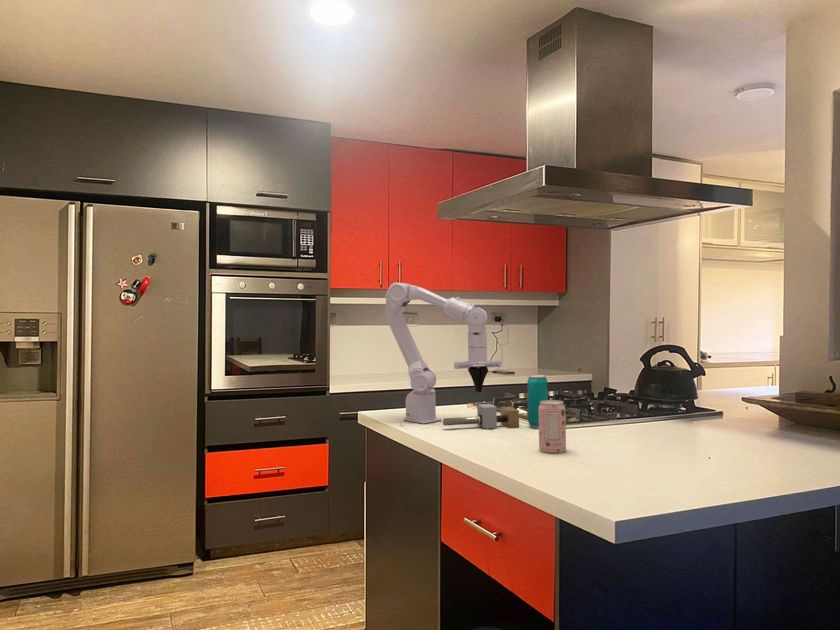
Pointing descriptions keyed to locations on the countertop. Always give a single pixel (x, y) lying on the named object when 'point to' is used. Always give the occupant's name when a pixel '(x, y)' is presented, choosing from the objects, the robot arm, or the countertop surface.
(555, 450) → the beverage can
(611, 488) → the countertop surface
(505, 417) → the pipe rig
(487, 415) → the sleeve
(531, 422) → the beverage can
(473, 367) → the robot arm
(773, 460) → the countertop surface
